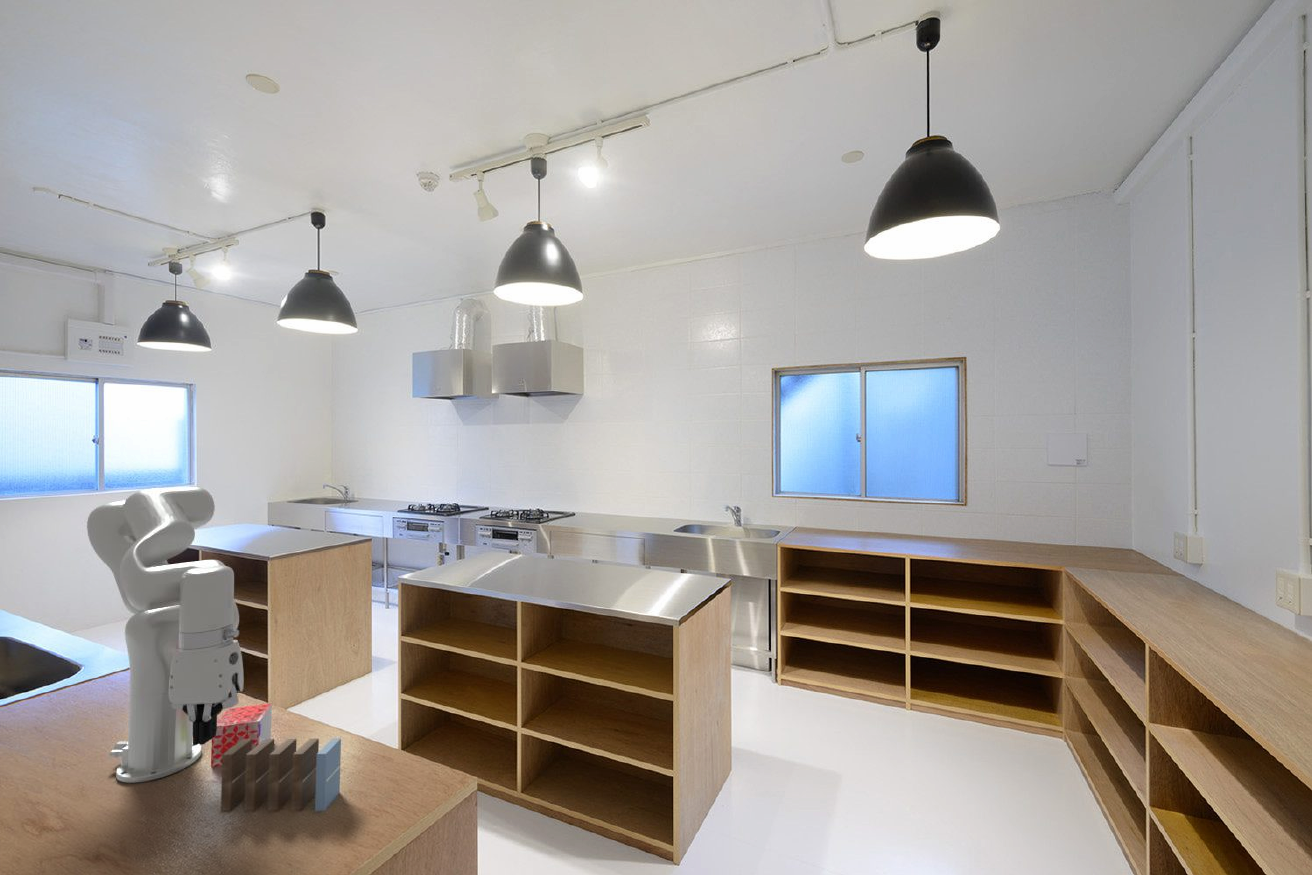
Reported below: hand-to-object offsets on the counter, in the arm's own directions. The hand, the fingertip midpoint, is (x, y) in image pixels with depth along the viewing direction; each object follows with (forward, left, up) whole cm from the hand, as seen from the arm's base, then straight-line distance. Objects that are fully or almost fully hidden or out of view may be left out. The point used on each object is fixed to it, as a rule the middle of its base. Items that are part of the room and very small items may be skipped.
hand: (204, 740), depth 96 cm
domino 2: (+9, 0, -11) cm, 15 cm away
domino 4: (+17, 0, -11) cm, 21 cm away
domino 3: (+13, 0, -11) cm, 18 cm away
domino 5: (+21, 0, -11) cm, 24 cm away
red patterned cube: (-5, +16, -12) cm, 21 cm away
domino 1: (+5, 0, -11) cm, 13 cm away
